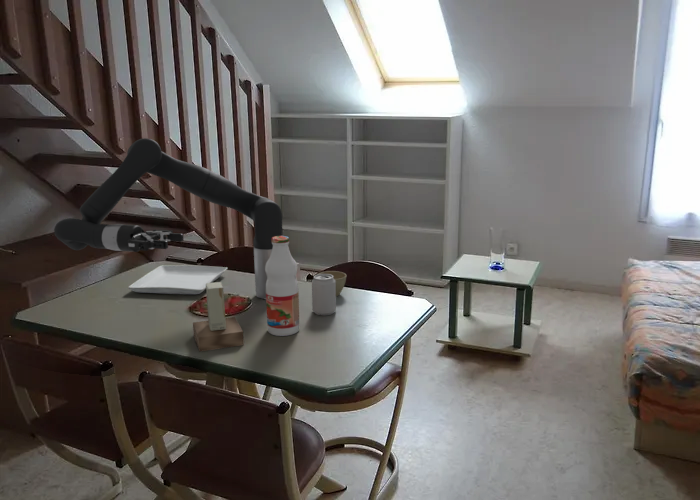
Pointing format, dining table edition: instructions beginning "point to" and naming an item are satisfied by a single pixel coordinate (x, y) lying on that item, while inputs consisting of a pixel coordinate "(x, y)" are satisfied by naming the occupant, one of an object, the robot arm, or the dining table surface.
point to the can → (323, 294)
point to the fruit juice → (282, 290)
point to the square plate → (177, 279)
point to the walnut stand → (218, 335)
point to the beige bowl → (337, 280)
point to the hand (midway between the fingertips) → (175, 241)
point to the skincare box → (215, 306)
